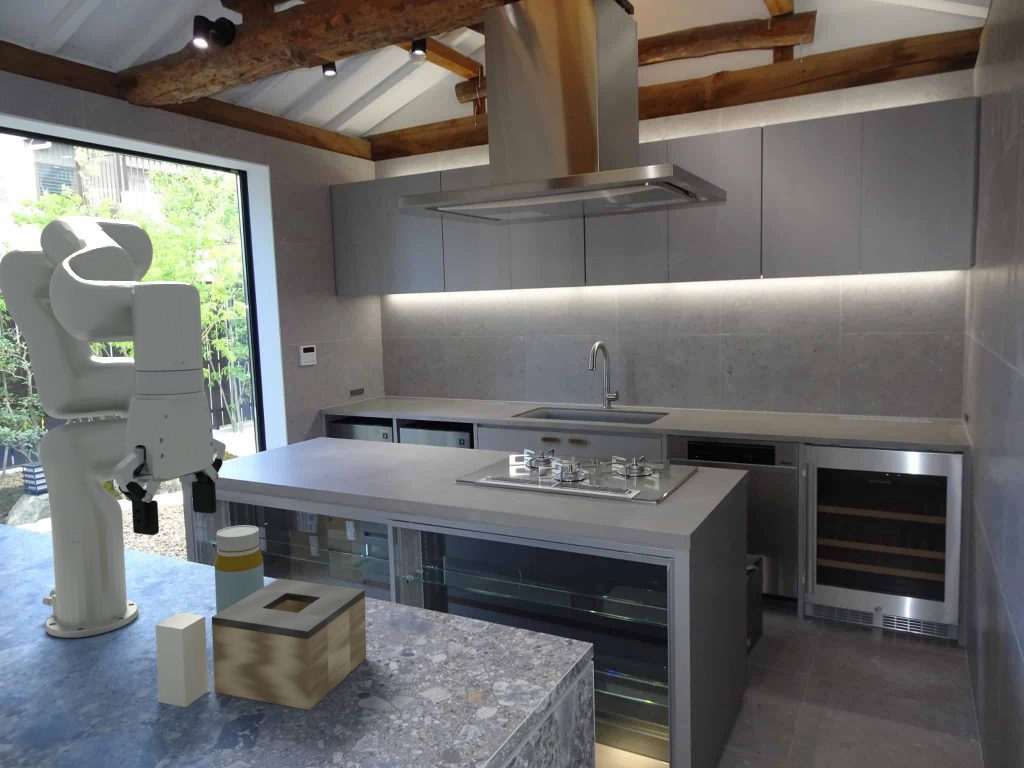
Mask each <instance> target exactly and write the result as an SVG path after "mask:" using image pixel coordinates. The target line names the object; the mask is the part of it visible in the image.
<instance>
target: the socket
mask: <svg viewBox="0 0 1024 768" xmlns="http://www.w3.org/2000/svg"><path fill="white" fill-rule="evenodd" d="M366 627H367V626H366V589H363V588H356V587H349V586H339V585H332V584H331V585H330V584H324V583H315V582H308V581H300V580H292V579H285V578H277V579H276V580H273V581H272V582H270V583H268V584H267V585H264V587H263V588H261V589H260V590H258V591H256V592H254V593H253V594H251V595H249V596H247V597H246V598H244V599H242V600H240V601H239V602H237V603H235V604H233V605H232V606H230V607H228V608H226V609H225V610H223V611H221V612H219V613H218V614H217V613H216V614H214V615H212V616H211V632H212V633H211V634H212V656H213V657H212V659H213V682H214V685H213V686H214V693H217V694H222V695H226V696H227V695H229V696H233V697H238V698H243V699H249V700H255V701H259V702H266V703H270V704H276V705H281V706H287V707H291V708H296V709H297V708H298V709H301V710H307V711H311V710H312V709H313V708H314V707H315V706H316V705H318V704H319V703H320V702H321V701H322V700H323V699H324V698H325V697H326V696H327V695H328V694H329V693H330V692H332V691H333V690H334V688H336V687H337V686H338V685H339V684H340V683H341V682H342V681H343V680H344V679H346V678H347V677H348V676H349V675H350V674H351V673H352V672H353V671H355V669H357V667H358V666H360V665H361V664H362V663H363V662H365V660H366V659H367V638H366V637H367V636H366V632H367V631H366V630H367V629H366ZM360 663H361V664H360ZM359 664H360V665H359ZM351 671H352V672H351ZM350 672H351V673H350ZM349 673H350V674H349ZM348 674H349V675H348ZM347 675H348V676H347ZM346 676H347V677H346ZM337 684H338V685H337Z"/></svg>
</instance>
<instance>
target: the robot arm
mask: <svg viewBox="0 0 1024 768" xmlns="http://www.w3.org/2000/svg"><path fill="white" fill-rule="evenodd" d="M39 242H40V247H22V248H16V249H14V250H11V251H9V252H8V253H6V254H4V256H3V257H2V258H1V260H0V292H1V295H2V299H3V302H4V304H5V308H6V309H7V311H8V313H9V315H10V317H11V318H12V320H13V322H14V323H15V325H16V327H17V328H18V330H19V331H20V334H21V335H22V338H23V339H24V341H25V345H26V347H27V353H28V357H29V360H30V366H31V370H32V375H33V380H34V383H35V387H36V392H37V395H38V399H39V404H40V405H41V408H42V409H43V412H44V413H45V414H46V415H47V416H49V417H51V418H53V419H59V420H60V419H61V420H70V419H71V420H72V419H74V420H75V419H86V418H96V417H108V416H119V417H120V418H113V419H98V420H89V421H86V420H85V421H79V422H71V423H66V424H63V425H62V424H61V425H58V426H56V427H54V428H51V429H50V430H48V431H47V432H46V433H45V434H44V435H43V436H42V439H41V440H40V443H39V450H38V451H39V453H38V454H39V460H40V464H41V468H42V472H43V477H44V479H45V485H46V488H47V493H48V502H49V510H50V524H51V525H50V526H51V538H52V551H53V552H52V554H53V569H54V570H53V571H54V585H55V588H52V589H51V590H50V592H49V595H48V596H44V597H43V598H42V601H41V602H42V604H43V605H44V606H49V607H52V615H51V616H49V618H47V620H46V622H45V630H46V633H48V634H49V635H50V636H54V637H56V638H57V637H58V638H64V639H65V638H66V639H67V638H68V639H71V638H72V639H73V638H75V639H76V638H85V637H91V636H96V635H100V634H101V635H102V634H106V633H109V632H111V631H114V630H118V629H120V628H122V627H124V626H127V625H128V624H130V623H131V622H133V620H135V619H136V618H137V616H139V606H138V603H136V602H135V601H132V600H129V599H127V583H126V582H127V581H126V564H125V563H126V562H125V561H126V560H125V546H124V545H125V542H124V523H123V521H124V520H123V511H122V506H121V505H120V503H119V501H118V500H117V499H116V497H115V496H113V494H111V493H110V492H109V491H107V489H105V488H104V486H103V484H104V483H106V482H111V481H113V480H115V482H116V484H117V485H118V490H119V491H120V492H121V493H122V494H123V495H124V496H125V497H126V500H127V501H129V502H131V511H132V512H131V514H132V531H133V533H134V534H138V535H146V536H147V535H148V536H155V535H158V534H159V532H160V526H159V524H160V523H159V506H158V505H159V504H158V500H153V499H154V497H155V495H156V493H157V491H158V489H159V487H160V485H161V483H165V482H169V481H173V480H176V479H180V478H183V477H187V476H190V475H191V476H193V477H194V479H195V480H194V481H191V494H192V495H191V496H192V498H191V499H192V510H193V512H195V513H203V514H214V513H216V512H217V495H216V490H217V489H216V482H217V481H218V480H219V477H220V475H219V471H220V470H221V468H222V466H223V458H224V454H225V452H226V449H227V447H226V444H225V443H224V442H221V441H220V440H218V439H215V438H214V433H213V424H212V423H213V422H212V418H211V412H210V405H209V402H208V398H207V394H206V392H205V374H204V359H203V358H204V355H203V354H204V353H203V333H202V314H201V311H202V310H201V296H200V291H199V290H198V288H197V286H195V284H192V283H189V282H184V281H183V282H182V281H163V280H162V281H160V280H159V281H157V280H156V281H144V282H142V280H143V278H144V277H145V276H146V274H147V273H148V272H149V271H150V268H151V266H152V262H153V258H154V255H153V254H154V251H153V250H154V249H153V243H152V240H151V238H150V236H149V234H148V232H147V231H146V229H144V228H143V227H142V226H141V225H139V224H138V223H135V222H134V221H129V220H123V219H111V218H101V217H100V218H99V217H89V216H78V215H77V216H75V215H73V216H71V215H70V216H61V217H58V218H56V219H54V220H53V219H52V220H51V221H50V222H48V223H47V224H46V225H45V226H44V228H43V230H42V231H41V234H40V240H39ZM123 342H124V343H125V342H128V343H129V342H132V345H133V358H132V357H129V356H112V357H111V356H109V357H108V356H107V357H98V356H96V355H94V354H93V352H92V348H91V343H93V344H94V343H95V344H96V343H98V344H99V343H101V344H102V343H123ZM145 484H146V487H145V488H143V487H144V486H145Z"/></svg>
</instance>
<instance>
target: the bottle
mask: <svg viewBox="0 0 1024 768" xmlns="http://www.w3.org/2000/svg"><path fill="white" fill-rule="evenodd" d="M215 538H216V547H217V549H216V553H217V554H216V557H215V560H214V582H215V583H214V584H215V585H214V587H215V608H216V610H215V611H216V614H218V613H219V612H221V611H223V610H225V609H226V608H228V607H230V606H232V605H233V604H235V603H237V602H239V601H240V600H242V599H244V598H246V597H247V596H249V595H251V594H253V593H254V592H256V591H258V590H260V589H261V588H263V587H265V573H264V557H263V555H262V551H261V550H260V547H261V546H260V529H259V527H258V526H256V525H249V524H248V525H247V524H243V525H242V524H241V525H240V524H239V525H233V526H228V527H227V526H226V527H224V528H221V529H218V530H217V531H216V537H215Z"/></svg>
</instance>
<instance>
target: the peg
mask: <svg viewBox="0 0 1024 768" xmlns="http://www.w3.org/2000/svg"><path fill="white" fill-rule="evenodd" d="M206 627H207V626H206V616H205V615H200V614H193V613H187V612H177V613H175V614H173V615H172V616H169V617H168V618H166V619H164V620H162V621H161V622H159V623H156V624H155V640H156V642H155V643H156V660H157V680H158V681H157V682H158V701H159V703H163V704H166V705H167V704H168V705H171V706H177V707H182V708H186V707H189V705H191V704H192V703H193V702H196V700H199V698H201V697H203V696H204V695H205V694H207V693H208V692H209V680H208V679H209V676H208V673H209V672H208V655H207V654H208V653H207V651H208V650H207V649H208V648H207V632H206V630H207V629H206Z"/></svg>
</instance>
